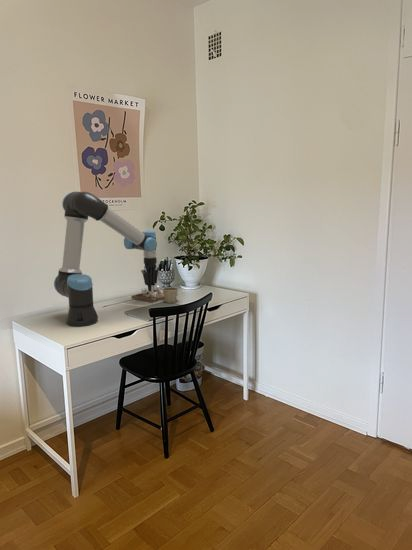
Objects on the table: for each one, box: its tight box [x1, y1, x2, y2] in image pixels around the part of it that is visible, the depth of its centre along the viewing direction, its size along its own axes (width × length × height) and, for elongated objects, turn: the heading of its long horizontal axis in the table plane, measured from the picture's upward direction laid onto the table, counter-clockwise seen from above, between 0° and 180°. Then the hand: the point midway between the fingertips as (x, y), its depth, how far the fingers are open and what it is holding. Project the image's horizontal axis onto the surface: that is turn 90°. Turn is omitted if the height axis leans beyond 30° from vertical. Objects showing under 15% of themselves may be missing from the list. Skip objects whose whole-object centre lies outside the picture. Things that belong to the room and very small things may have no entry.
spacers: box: [141, 284, 162, 299], centre depth 256 cm, size 17×14×5 cm
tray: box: [131, 289, 179, 304], centre depth 256 cm, size 22×17×3 cm
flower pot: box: [161, 286, 179, 304], centre depth 245 cm, size 9×9×9 cm
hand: (151, 296), depth 253 cm, fingers closed
